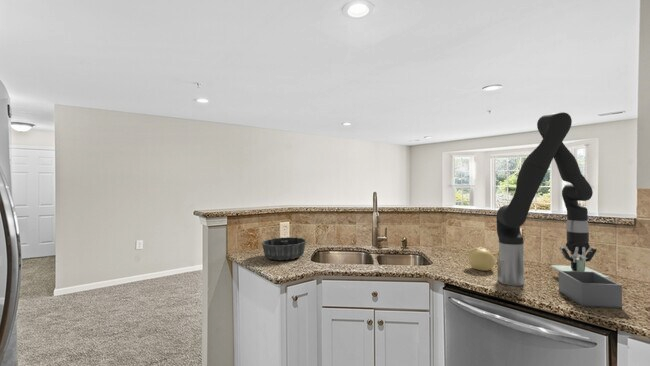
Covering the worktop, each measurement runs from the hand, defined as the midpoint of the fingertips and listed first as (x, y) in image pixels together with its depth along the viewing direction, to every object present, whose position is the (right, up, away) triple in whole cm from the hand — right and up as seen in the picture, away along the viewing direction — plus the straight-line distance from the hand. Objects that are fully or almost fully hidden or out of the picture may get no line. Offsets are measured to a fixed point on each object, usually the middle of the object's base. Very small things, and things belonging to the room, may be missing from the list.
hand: (578, 270), depth 138 cm
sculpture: (-31, -5, +21) cm, 38 cm away
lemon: (-13, -5, +34) cm, 36 cm away
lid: (0, -2, 0) cm, 2 cm away
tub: (-12, -5, -20) cm, 24 cm away
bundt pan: (-133, -7, +54) cm, 144 cm away
